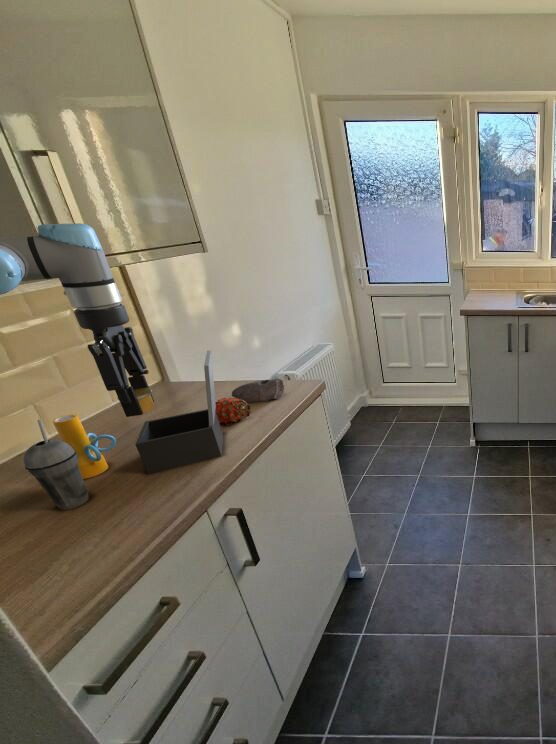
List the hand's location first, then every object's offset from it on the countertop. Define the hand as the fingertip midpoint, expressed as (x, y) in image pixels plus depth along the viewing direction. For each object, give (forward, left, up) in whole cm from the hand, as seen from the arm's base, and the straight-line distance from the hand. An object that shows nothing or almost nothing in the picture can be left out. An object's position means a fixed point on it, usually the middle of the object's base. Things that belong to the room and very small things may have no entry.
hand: (140, 408), depth 92 cm
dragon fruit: (+13, +20, -17) cm, 30 cm away
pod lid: (+12, +6, 0) cm, 14 cm away
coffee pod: (0, 0, 0) cm, 0 cm away
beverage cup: (-15, -5, -17) cm, 23 cm away
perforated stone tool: (+21, +32, -17) cm, 42 cm away
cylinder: (-15, +8, -17) cm, 24 cm away
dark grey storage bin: (+4, +6, -17) cm, 19 cm away
